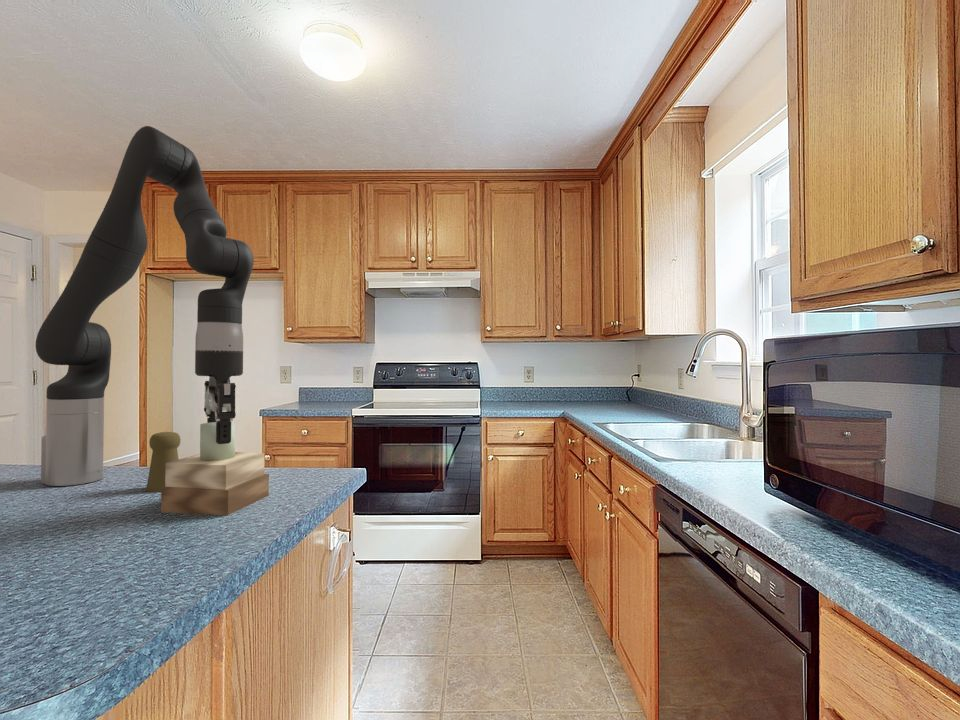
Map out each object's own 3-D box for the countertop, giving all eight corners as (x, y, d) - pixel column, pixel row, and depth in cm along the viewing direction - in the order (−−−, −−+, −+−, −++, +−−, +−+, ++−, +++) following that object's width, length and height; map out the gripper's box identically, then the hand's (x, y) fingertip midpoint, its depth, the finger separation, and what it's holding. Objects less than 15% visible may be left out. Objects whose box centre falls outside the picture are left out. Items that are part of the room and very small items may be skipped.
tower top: (165, 486, 81) (165, 462, 81) (210, 472, 92) (210, 451, 92) (225, 489, 80) (226, 465, 80) (264, 474, 91) (264, 453, 91)
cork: (149, 485, 97) (150, 431, 98) (184, 483, 100) (185, 429, 100) (143, 493, 92) (143, 435, 92) (180, 490, 94) (181, 433, 95)
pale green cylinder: (192, 460, 84) (193, 425, 84) (213, 454, 89) (213, 421, 89) (222, 461, 83) (222, 426, 83) (240, 455, 88) (241, 422, 88)
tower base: (161, 514, 81) (161, 487, 81) (209, 495, 93) (209, 471, 93) (228, 517, 79) (228, 490, 79) (268, 497, 91) (268, 473, 91)
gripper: (252, 348, 83) (251, 443, 83) (234, 350, 94) (233, 433, 94) (202, 347, 78) (201, 448, 78) (189, 349, 89) (188, 437, 89)
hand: (218, 440), depth 86 cm, fingers open, 8 cm apart
